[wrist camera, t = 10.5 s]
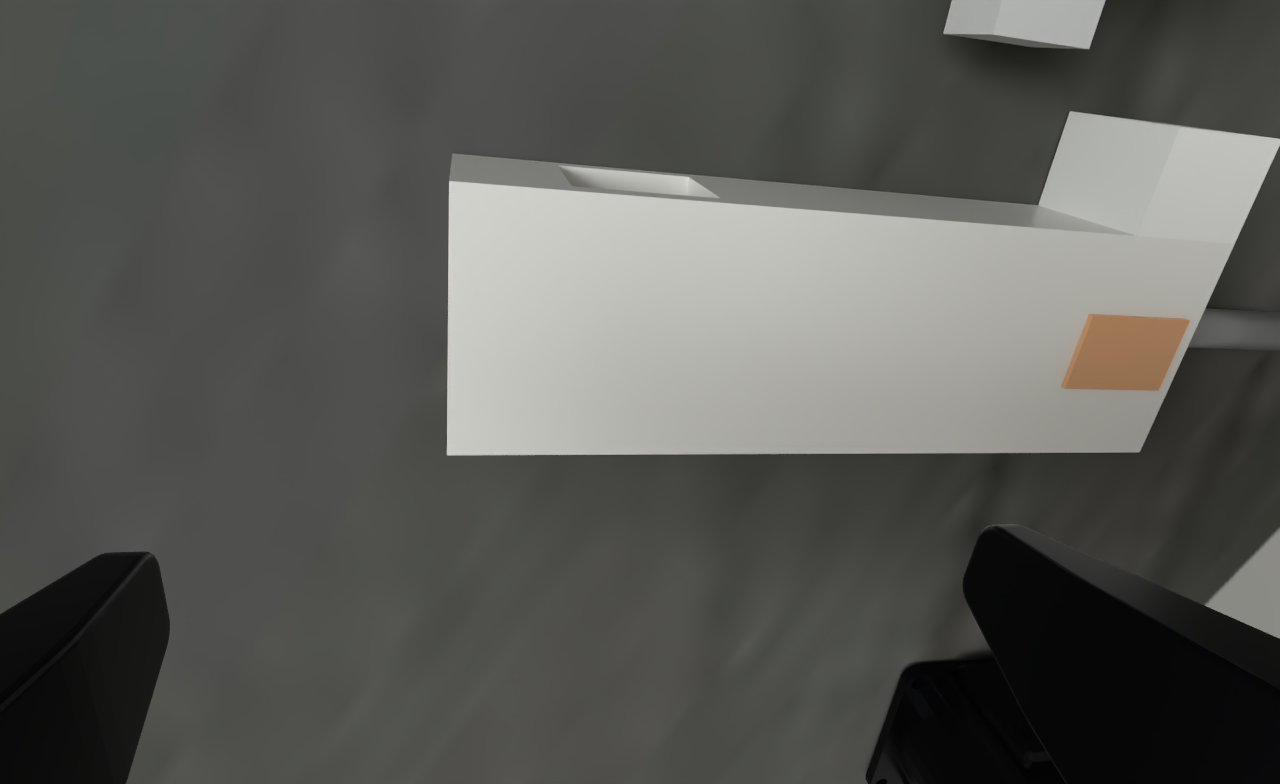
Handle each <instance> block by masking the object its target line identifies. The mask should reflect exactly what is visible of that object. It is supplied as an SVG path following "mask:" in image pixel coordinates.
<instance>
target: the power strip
mask: <svg viewBox="0 0 1280 784" xmlns="http://www.w3.org/2000/svg"><path fill="white" fill-rule="evenodd" d="M1279 145H1280V139H1276V138H1269V137H1262V136H1255V135H1247V134H1240V133H1233V132H1225V131H1218V130H1211V129H1203V128H1196V127H1189V126H1182V125H1174V124H1167V123H1160V122H1152V121H1144V120H1136V119H1128V118H1120V117H1112V116H1104V115H1096V114H1088V113H1080V112H1072V111H1070V112H1069V115H1068V118H1067V121H1066V124H1065V127H1064V130H1063V133H1062V136H1061V139H1060V142H1059V145H1058V148H1057V151H1056V154H1055V157H1054V160H1053V163H1052V166H1051V169H1050V172H1049V175H1048V178H1047V181H1046V184H1045V187H1044V190H1043V193H1042V196H1041V199H1040V202H1039V205H1029V204H1018V203H1006V202H995V201H984V200H973V199H961V198H950V197H939V196H927V195H916V194H905V193H893V192H882V191H871V190H859V189H848V188H837V187H826V186H814V185H803V184H792V183H780V182H769V181H758V180H746V179H735V178H724V177H713V176H701V175H690V174H679V173H667V172H656V171H645V170H633V169H622V168H611V167H599V166H588V165H577V164H566V163H554V162H543V161H532V160H520V159H509V158H498V157H486V156H475V155H464V154H453V153H452V161H451V170H450V178H449V270H448V395H447V455H632V454H874V453H1116V452H1140V451H1141V448H1142V446H1143V444H1144V442H1145V440H1146V437H1147V435H1148V433H1149V431H1150V429H1151V427H1152V424H1153V422H1154V420H1155V418H1156V416H1157V413H1158V411H1159V409H1160V407H1161V405H1162V402H1163V400H1164V398H1165V396H1166V394H1167V391H1168V389H1169V387H1170V385H1171V383H1172V380H1173V378H1174V376H1175V374H1176V372H1177V369H1178V367H1179V365H1180V363H1181V361H1182V358H1183V356H1184V354H1185V352H1186V350H1187V347H1188V348H1215V349H1242V350H1269V351H1277V350H1280V312H1265V311H1246V310H1227V309H1208V308H1206V306H1207V304H1208V301H1209V299H1210V297H1211V295H1212V293H1213V290H1214V288H1215V286H1216V284H1217V282H1218V279H1219V277H1220V275H1221V273H1222V271H1223V268H1224V266H1225V264H1226V262H1227V260H1228V257H1229V255H1230V253H1231V251H1232V249H1233V246H1234V244H1235V242H1236V240H1237V238H1238V235H1239V233H1240V231H1241V229H1242V227H1243V225H1244V222H1245V220H1246V218H1247V216H1248V214H1249V211H1250V209H1251V207H1252V205H1253V203H1254V200H1255V198H1256V196H1257V194H1258V192H1259V189H1260V187H1261V185H1262V183H1263V181H1264V178H1265V176H1266V174H1267V172H1268V170H1269V167H1270V165H1271V163H1272V161H1273V159H1274V156H1275V154H1276V152H1277V150H1278V148H1279Z"/></svg>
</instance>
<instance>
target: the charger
mask: <svg viewBox="0 0 1280 784" xmlns="http://www.w3.org/2000/svg"><path fill="white" fill-rule="evenodd" d="M1104 3H1105V0H952V2H951V6H950V10H949V14H948V17H947V21H946V25H945V29H944V33H943V34H948V35H954V36H961V37H968V38H974V39H981V40H988V41H994V42H1001V43H1008V44H1014V45H1021V46H1027V47H1039V48H1068V49H1089V48H1090V45H1091V42H1092V39H1093V36H1094V33H1095V30H1096V27H1097V24H1098V21H1099V18H1100V15H1101V12H1102V9H1103V6H1104Z"/></svg>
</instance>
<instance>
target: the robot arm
mask: <svg viewBox="0 0 1280 784" xmlns="http://www.w3.org/2000/svg"><path fill="white" fill-rule="evenodd" d="M963 593H964V597H965V599H966V602H967V604H968V606H969V608H970V610H971V612H972V614H973V616H974V618H975V620H976V622H977V624H978V626H979V628H980V629H981V631H982V633H983V635H984V637H985V639H986V641H987V643H988V645H989V647H990V649H991V651H992V653H993V655H994V657H995V659H996V660H983V661H971V662H958V663H946V664H933V665H921V666H913V667H910V668H908V669H907V670H906V671H904V672H903V674H902V675H901V678H900V680H899V683H898V686H897V689H896V692H895V695H894V697H893V700H892V703H891V706H890V709H889V712H888V714H887V717H886V720H885V723H884V726H883V729H882V731H881V734H880V737H879V740H878V743H877V746H876V749H875V751H874V754H873V757H872V760H871V763H870V766H869V768H868V771H867V774H866V780H867V782H868V784H1280V639H1279V638H1277V637H1274V636H1272V635H1270V634H1267V633H1265V632H1263V631H1261V630H1258V629H1256V628H1254V627H1252V626H1249V625H1247V624H1245V623H1242V622H1240V621H1238V620H1236V619H1233V618H1231V617H1229V616H1227V615H1224V614H1222V613H1220V612H1217V611H1215V610H1213V609H1211V608H1209V607H1206V606H1204V605H1202V604H1199V603H1197V602H1195V601H1193V600H1190V599H1188V598H1186V597H1184V596H1181V595H1179V594H1177V593H1175V592H1172V591H1170V590H1168V589H1165V588H1163V587H1161V586H1159V585H1156V584H1154V583H1152V582H1150V581H1147V580H1145V579H1143V578H1141V577H1138V576H1136V575H1134V574H1131V573H1129V572H1127V571H1125V570H1122V569H1120V568H1118V567H1116V566H1113V565H1111V564H1109V563H1107V562H1104V561H1102V560H1100V559H1097V558H1095V557H1093V556H1091V555H1088V554H1086V553H1084V552H1082V551H1079V550H1077V549H1075V548H1073V547H1070V546H1068V545H1066V544H1063V543H1061V542H1059V541H1057V540H1054V539H1052V538H1050V537H1048V536H1045V535H1043V534H1041V533H1038V532H1036V531H1034V530H1032V529H1029V528H1027V527H1025V526H1022V525H1018V524H999V525H989V526H987V527H985V528H984V529H983V530H982V531H981V532H980V534H979V536H978V539H977V542H976V544H975V547H974V550H973V552H972V555H971V558H970V560H969V563H968V566H967V569H966V571H965V574H964V577H963ZM169 632H170V620H169V614H168V609H167V603H166V598H165V593H164V588H163V583H162V578H161V572H160V567H159V564H158V561H157V559H156V558H155V556H154V555H152V554H151V553H149V552H114V553H104V554H100V555H99V556H97V557H95V558H93V559H91V560H90V561H88V562H86V563H85V564H83V565H81V566H80V567H78V568H76V569H75V570H73V571H71V572H70V573H68V574H66V575H65V576H63V577H61V578H60V579H58V580H56V581H55V582H53V583H51V584H50V585H48V586H46V587H45V588H43V589H41V590H40V591H38V592H36V593H35V594H33V595H31V596H30V597H28V598H26V599H25V600H23V601H21V602H20V603H18V604H16V605H15V606H13V607H11V608H10V609H8V610H6V611H5V612H3V613H1V614H0V784H126V782H127V779H128V776H129V773H130V769H131V766H132V763H133V759H134V756H135V752H136V749H137V746H138V742H139V739H140V736H141V732H142V729H143V726H144V722H145V719H146V716H147V712H148V709H149V705H150V702H151V699H152V695H153V692H154V689H155V685H156V682H157V679H158V675H159V672H160V669H161V665H162V662H163V658H164V655H165V652H166V648H167V645H168V640H169Z"/></svg>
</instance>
